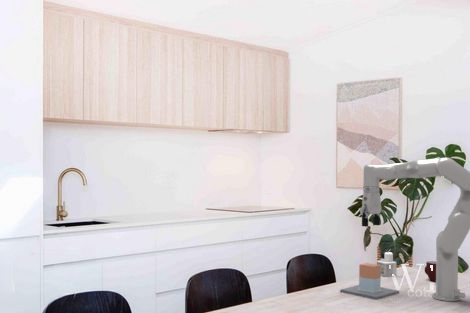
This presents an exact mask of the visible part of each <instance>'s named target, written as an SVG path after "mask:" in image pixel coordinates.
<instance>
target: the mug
mask: <svg viewBox="0 0 470 313" xmlns="http://www.w3.org/2000/svg"><path fill="white" fill-rule="evenodd" d="M430 265H433V271H431V268H430ZM424 273H425V274H426V275H427V277H428V280H429V281H430V282H431V281H433V282H432V283H436V261H435V260H431V261H426V265H425V267H424Z"/></svg>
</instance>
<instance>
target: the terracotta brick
mask: <svg viewBox="0 0 470 313" xmlns="http://www.w3.org/2000/svg"><path fill="white" fill-rule="evenodd" d="M358 266H359V270H358V271H359V274H358V275H359V277H363V278H368V279H378V278H381V277H382V276H381V265H377V263H376V264H375V263H370V262H369V263H368V262H365V263H360V264H359V265H358ZM359 277H358V278H359Z"/></svg>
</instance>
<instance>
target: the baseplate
mask: <svg viewBox="0 0 470 313" xmlns="http://www.w3.org/2000/svg"><path fill="white" fill-rule="evenodd" d="M339 291H340V293H342V292H343V294H348V295H353V296H356V297H357V296H358V297H361V298H367V299H371V300H376V301H377V300H380V299H384V298H387V297H391V296H395V295H398V294H400V290H399V289H398V290H397V289H392V288H387V287H381V286H380V290H379V291H375V292H370V291H366V290H361V289H359V284H358V285H353V286H349V287H346V288H340V290H339Z"/></svg>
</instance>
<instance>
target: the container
mask: <svg viewBox="0 0 470 313" xmlns="http://www.w3.org/2000/svg"><path fill="white" fill-rule="evenodd" d="M397 264H398V263H397V261H394V254H393V252H391V251H384V250H383V251H382V252H380V259H379V260H376V265H381V277H385V278H388V277H389V278H390V277H393V276H392V274H394V275H395V276H394V277H397ZM389 265H391V269H389Z"/></svg>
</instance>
